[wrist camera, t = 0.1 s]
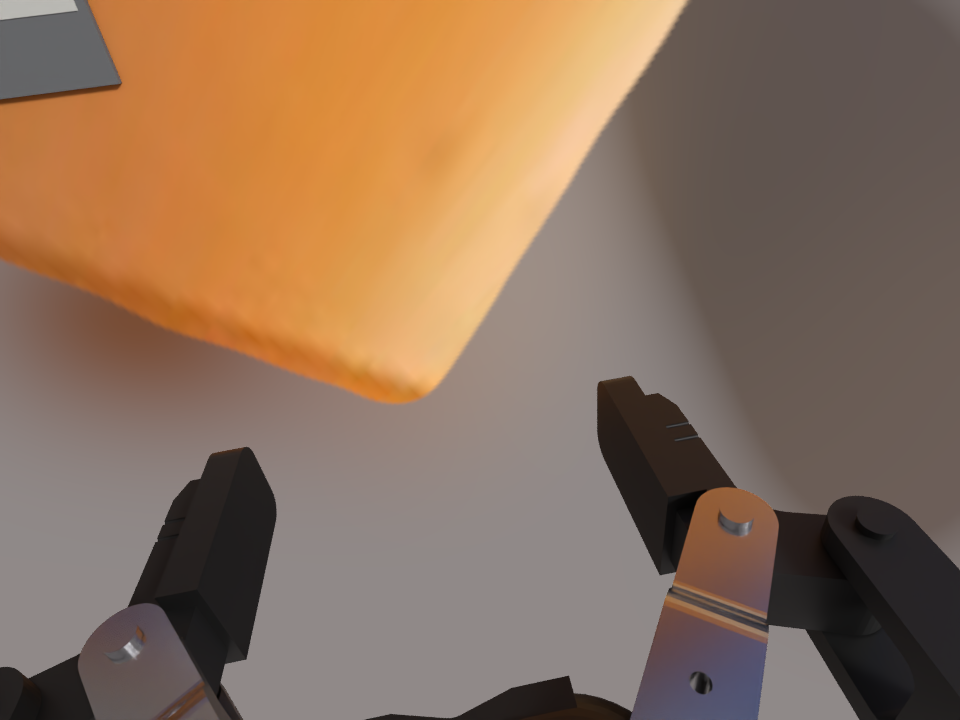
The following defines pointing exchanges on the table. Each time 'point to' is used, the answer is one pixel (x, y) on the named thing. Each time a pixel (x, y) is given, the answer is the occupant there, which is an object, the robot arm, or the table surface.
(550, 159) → the table surface
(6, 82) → the grey flat board
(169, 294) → the table surface
